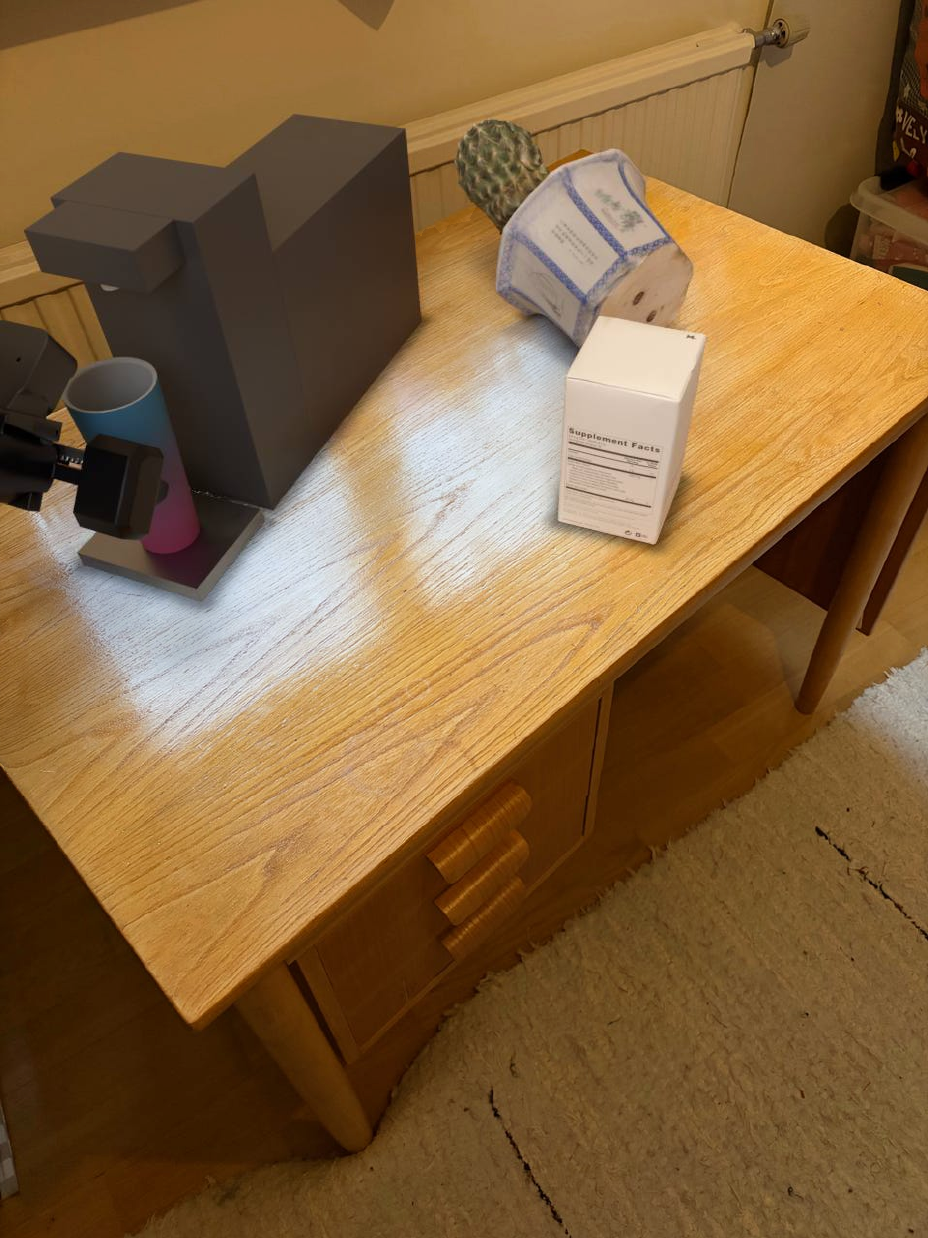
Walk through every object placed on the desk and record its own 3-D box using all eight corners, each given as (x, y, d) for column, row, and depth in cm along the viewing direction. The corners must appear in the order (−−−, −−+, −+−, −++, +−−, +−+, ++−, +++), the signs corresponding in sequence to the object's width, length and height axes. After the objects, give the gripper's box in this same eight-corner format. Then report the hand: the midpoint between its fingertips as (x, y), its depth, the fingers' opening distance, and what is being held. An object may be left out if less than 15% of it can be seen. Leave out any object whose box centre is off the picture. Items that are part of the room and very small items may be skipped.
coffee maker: (246, 544, 75) (153, 254, 56) (132, 511, 79) (5, 226, 59) (421, 321, 97) (399, 54, 77) (326, 302, 100) (281, 42, 80)
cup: (209, 555, 73) (153, 406, 61) (126, 567, 72) (53, 418, 61) (212, 501, 77) (160, 351, 65) (133, 511, 76) (67, 362, 65)
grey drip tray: (202, 601, 71) (196, 589, 70) (83, 564, 75) (76, 552, 73) (264, 521, 77) (261, 509, 76) (152, 490, 80) (147, 477, 79)
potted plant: (743, 207, 81) (553, 35, 91) (589, 276, 76) (406, 86, 86) (689, 345, 97) (532, 185, 107) (558, 410, 91) (406, 235, 102)
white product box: (585, 458, 81) (598, 310, 70) (681, 480, 79) (710, 331, 67) (553, 522, 76) (561, 374, 64) (655, 548, 73) (682, 398, 62)
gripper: (92, 340, 48) (243, 395, 63) (-156, 284, 53) (38, 347, 68) (54, 537, 50) (211, 546, 65) (-184, 464, 55) (12, 488, 70)
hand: (116, 476), depth 67 cm, fingers open, 9 cm apart
